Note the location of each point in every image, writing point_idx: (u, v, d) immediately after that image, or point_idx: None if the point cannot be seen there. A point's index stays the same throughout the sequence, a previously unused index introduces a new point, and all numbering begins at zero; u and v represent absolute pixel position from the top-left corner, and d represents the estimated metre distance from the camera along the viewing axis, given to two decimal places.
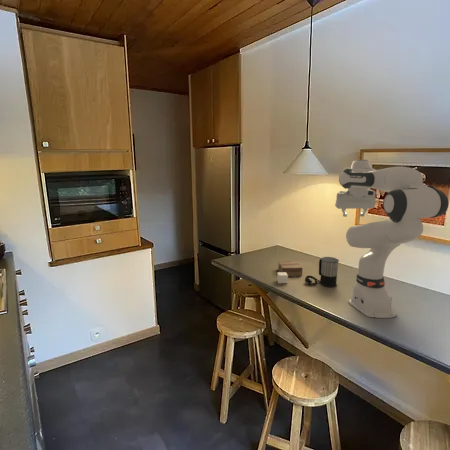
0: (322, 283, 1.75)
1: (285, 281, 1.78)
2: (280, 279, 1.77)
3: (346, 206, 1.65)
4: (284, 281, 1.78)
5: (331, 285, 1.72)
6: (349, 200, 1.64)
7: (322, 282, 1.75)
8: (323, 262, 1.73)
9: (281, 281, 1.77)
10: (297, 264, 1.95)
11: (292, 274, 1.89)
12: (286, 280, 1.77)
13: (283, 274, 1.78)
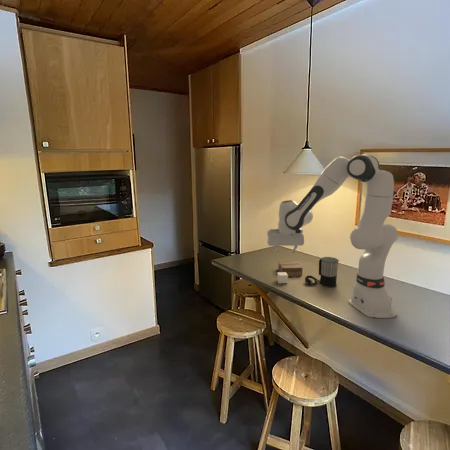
0: (322, 283, 1.75)
1: (285, 281, 1.78)
2: (280, 279, 1.77)
3: (276, 243, 1.75)
4: (284, 281, 1.78)
5: (331, 285, 1.72)
6: (279, 238, 1.74)
7: (322, 282, 1.75)
8: (323, 262, 1.73)
9: (281, 281, 1.77)
10: (297, 264, 1.95)
11: (292, 274, 1.89)
12: (286, 280, 1.77)
13: (283, 274, 1.78)
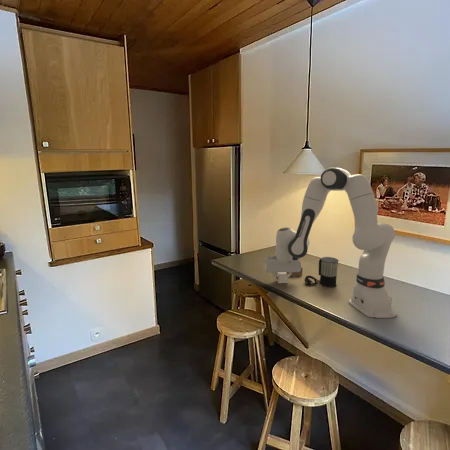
0: (322, 283, 1.75)
1: (285, 281, 1.78)
2: (280, 279, 1.77)
3: (274, 270, 1.77)
4: (284, 281, 1.78)
5: (331, 285, 1.72)
6: (276, 265, 1.76)
7: (322, 282, 1.74)
8: (323, 262, 1.72)
9: (281, 281, 1.77)
10: None
11: (292, 274, 1.89)
12: (286, 280, 1.77)
13: (283, 274, 1.78)
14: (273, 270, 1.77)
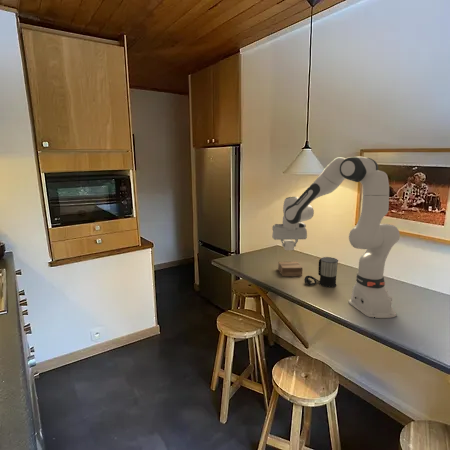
0: (321, 283, 1.74)
1: (292, 248, 1.86)
2: (287, 246, 1.86)
3: (281, 237, 1.85)
4: (291, 248, 1.86)
5: (330, 285, 1.72)
6: (283, 232, 1.85)
7: (321, 282, 1.74)
8: (322, 262, 1.72)
9: (288, 247, 1.86)
10: (297, 264, 1.95)
11: (292, 274, 1.89)
12: (292, 247, 1.86)
13: (290, 241, 1.87)
14: (280, 237, 1.85)
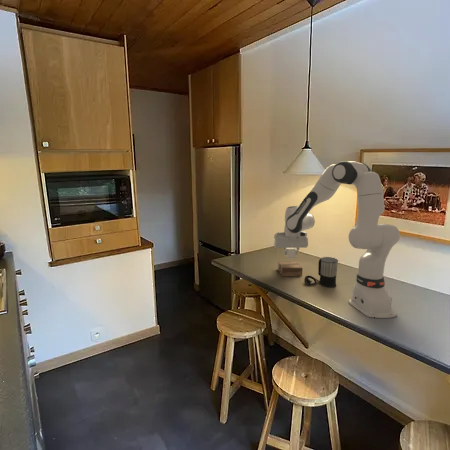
0: (321, 283, 1.74)
1: (293, 256, 1.91)
2: (288, 254, 1.90)
3: (283, 245, 1.90)
4: (292, 255, 1.91)
5: (330, 285, 1.72)
6: (285, 240, 1.89)
7: (321, 282, 1.74)
8: (322, 262, 1.72)
9: (290, 255, 1.91)
10: (297, 264, 1.95)
11: (292, 274, 1.89)
12: (294, 255, 1.91)
13: (291, 249, 1.91)
14: (282, 245, 1.90)
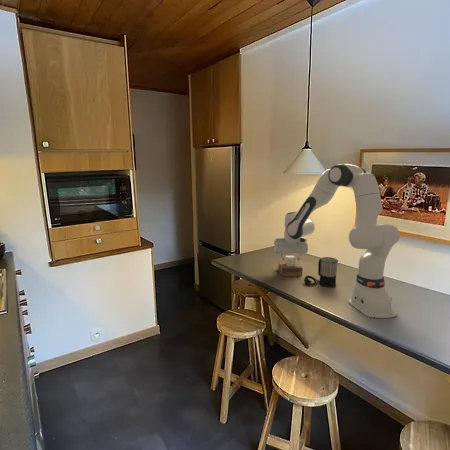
0: (321, 283, 1.74)
1: (293, 263, 1.91)
2: (288, 262, 1.91)
3: (282, 251, 1.90)
4: (292, 263, 1.91)
5: (330, 285, 1.72)
6: (285, 246, 1.90)
7: (321, 282, 1.74)
8: (322, 262, 1.72)
9: (290, 263, 1.91)
10: (297, 264, 1.95)
11: (292, 274, 1.89)
12: (294, 263, 1.91)
13: (291, 257, 1.92)
14: (282, 251, 1.90)
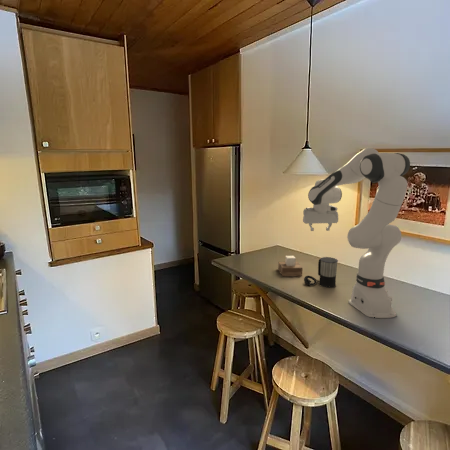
0: (321, 283, 1.74)
1: (293, 263, 1.91)
2: (288, 262, 1.91)
3: (312, 221, 1.83)
4: (292, 263, 1.91)
5: (330, 285, 1.72)
6: (314, 216, 1.83)
7: (321, 282, 1.74)
8: (322, 262, 1.72)
9: (290, 263, 1.91)
10: (297, 264, 1.95)
11: (292, 274, 1.89)
12: (294, 263, 1.91)
13: (291, 257, 1.92)
14: (312, 221, 1.83)
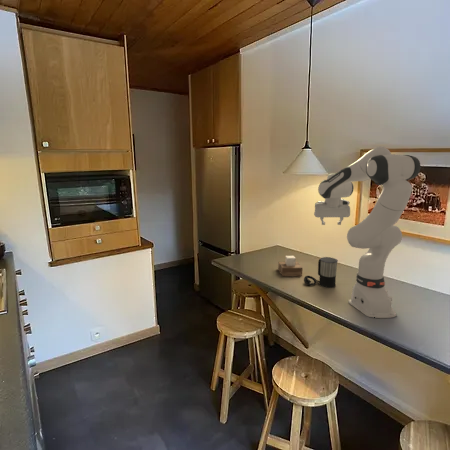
0: (321, 283, 1.74)
1: (293, 263, 1.91)
2: (288, 262, 1.91)
3: (324, 215, 1.82)
4: (292, 263, 1.91)
5: (330, 285, 1.72)
6: (326, 209, 1.81)
7: (321, 282, 1.74)
8: (322, 262, 1.72)
9: (290, 263, 1.91)
10: (297, 264, 1.95)
11: (292, 274, 1.89)
12: (294, 263, 1.91)
13: (291, 257, 1.92)
14: (323, 215, 1.81)
